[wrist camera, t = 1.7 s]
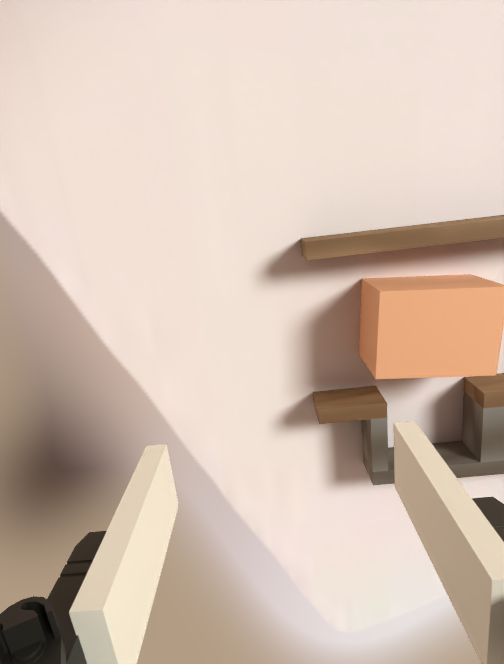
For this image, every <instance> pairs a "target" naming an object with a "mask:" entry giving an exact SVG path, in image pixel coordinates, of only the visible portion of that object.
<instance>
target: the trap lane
mask: <svg viewBox="0 0 504 664" xmlns="http://www.w3.org/2000/svg"><path fill="white" fill-rule="evenodd" d="M499 238H504V215H500V216H491V217H482V218H474V219H465V220H456V221H448V222H439V223H431V224H422V225H413V226H405V227H396V228H387V229H379V230H370V231H362V232H353V233H344V234H336V235H327V236H319V237H310V238H301V244H302V255H303V256H304V258H305V259H306V260H314V259H323V258H332V257H341V256H350V255H358V254H367V253H376V252H385V251H394V250H402V249H411V248H420V247H429V246H438V245H446V244H455V243H464V242H473V241H482V240H491V239H499ZM313 396H314V406H315V410H316V413H317V417H318V420H319V424H325V423H335V422H346V421H356V420H362V433H363V457H364V464H365V467H366V469H367V472H368V474H369V476H370V479H371V481H372V484H373V485H381V484H392V483H395V472H394V447H393V448H388V435H387V403H386V401H385V400H384V398H383V396H382V395H381V393H380V392H379V390H378V389H377V387H376V386H370V387H360V388H350V389H339V390H329V391H319V392H313ZM432 445H433V446H434V448H435V449H436V450H437V452H438V453H439V454H440V456H441V457H442V459H443V460H444V461H445V463H446V464H447V465H448V467H449V468H450V469H451V471H452V472H453V474H454V475H455V476H456V478H461V477H472V476H484V475H495V474H504V373H502V374H496V375H495V376H471V377H464V403H463V430H462V441H458V442H447V443H436V444H432Z"/></svg>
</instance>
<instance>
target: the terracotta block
mask: <svg viewBox="0 0 504 664" xmlns="http://www.w3.org/2000/svg"><path fill="white" fill-rule="evenodd" d="M503 325H504V285H502V284H499V283H496V282H493V281H490V280H487V279H483V278H480V277H477V276H474V275H471V274H469V275H443V276H417V277H391V278H365V279H362V285H361V313H360V341H359V355H360V357H361V358H362V360H363V361H364V363H365V364H366V366H367V367H368V369H369V370H370V372H371V373H372V375H373V376H374V378H375V379H401V378H432V377H464V376H495V375H496V374H497V367H498V360H499V353H500V346H501V339H502V332H503Z"/></svg>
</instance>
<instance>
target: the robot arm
mask: <svg viewBox="0 0 504 664" xmlns="http://www.w3.org/2000/svg"><path fill="white" fill-rule="evenodd" d="M394 472H395V488H396V490H397V492H398V494H399V496H400V498H401V500H402V502H403V504H404V506H405V508H406V511H407V513H408V515H409V517H410V519H411V521H412V523H413V525H414V527H415V529H416V531H417V533H418V535H419V537H420V539H421V541H422V543H423V545H424V547H425V549H426V551H427V553H428V556H429V558H430V560H431V562H432V564H433V566H434V568H435V570H436V572H437V574H438V576H439V578H440V580H441V582H442V584H443V586H444V588H445V590H446V592H447V594H448V596H449V598H450V600H451V602H452V605H453V607H454V609H455V611H456V613H457V615H458V617H459V619H460V621H461V623H462V625H463V627H464V629H465V631H466V633H467V635H468V637H469V639H470V641H471V643H472V645H473V647H474V650H475V651H476V654H477V656H478V658H479V660H480V662H481V664H504V504H503V503H501V502H500V501H498V500H497V499H495V498H494V497H484V498H473V499H472V498H471V497H470V495H469V494H468V493H467V491H466V490H465V489H464V487H463V486H462V484H461V483H460V482H459V480H458V479H457V478H456V476H455V475H454V474H453V472H452V471H451V469H450V468H449V467H448V465H447V464H446V463H445V461H444V460H443V459H442V457H441V456H440V454H439V453H438V452H437V450H436V449H435V448H434V446H433V445H432V444H431V442H430V441H429V439H428V438H427V437H426V435H425V434H424V433H423V431H422V430H421V428H420V427H419V426H418V424H417V423H416V422H415V421H407V422H396V423H394ZM177 510H178V500H177V495H176V490H175V485H174V480H173V475H172V470H171V465H170V460H169V455H168V450H167V445H166V444H164V445H155V446H154V445H153V446H146V448H145V450H144V452H143V454H142V457H141V459H140V461H139V463H138V465H137V467H136V470H135V472H134V474H133V476H132V478H131V480H130V482H129V485H128V487H127V489H126V491H125V493H124V495H123V498H122V500H121V502H120V504H119V506H118V508H117V510H116V512H115V515H114V517H113V519H112V521H111V523H110V526H109V528H108V530H107V531H101V532H89V533H88V534H87V535H86V536H85V537H84V538H83V539H82V540H81V541H80V542H79V543H78V544H77V545H76V546H75V548H74V550H73V552H72V554H71V556H70V558H69V559H68V561H67V565H65V567H64V569H63V570H62V573H61V575H60V578H58V580H57V582H56V584H55V585H54V587H53V589H52V591H51V593H50V595H49V597H48V598H47V599H45V598H44V597H30V598H27V599H23V600H21V601H19V602H17V603H15V604H13V605H11V606H10V607H8V608H7V609H6V610H5V611H4V612H2V613H1V614H0V664H137V660H138V657H139V653H140V649H141V645H142V641H143V638H144V634H145V630H146V626H147V623H148V619H149V615H150V611H151V608H152V604H153V600H154V596H155V593H156V589H157V584H158V581H159V577H160V574H161V570H162V566H163V562H164V558H165V555H166V551H167V547H168V544H169V540H170V536H171V532H172V528H173V525H174V521H175V517H176V514H177Z"/></svg>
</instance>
